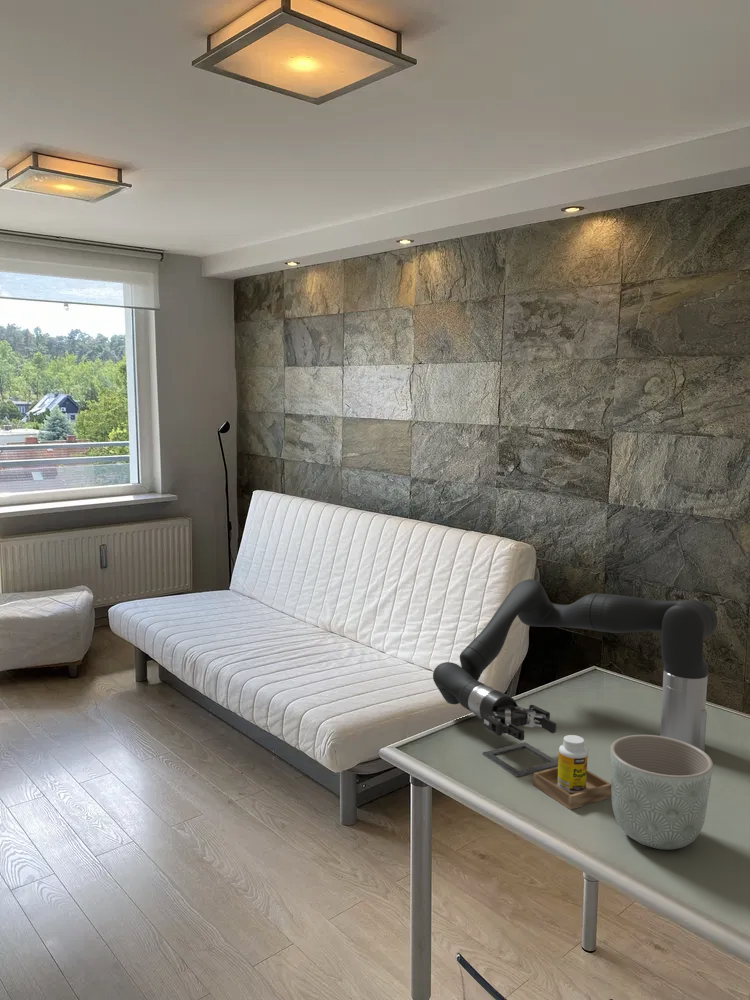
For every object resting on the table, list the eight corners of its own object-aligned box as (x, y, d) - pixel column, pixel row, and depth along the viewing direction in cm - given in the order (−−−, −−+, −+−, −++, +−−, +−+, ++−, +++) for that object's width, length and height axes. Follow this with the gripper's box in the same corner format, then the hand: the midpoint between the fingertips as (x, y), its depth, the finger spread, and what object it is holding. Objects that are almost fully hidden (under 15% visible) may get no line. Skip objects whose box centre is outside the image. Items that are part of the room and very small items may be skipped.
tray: (573, 774, 159) (573, 762, 159) (611, 797, 150) (612, 784, 150) (533, 785, 154) (533, 773, 154) (570, 809, 145) (570, 796, 145)
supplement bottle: (572, 797, 148) (574, 747, 147) (551, 785, 153) (553, 736, 152) (592, 790, 151) (594, 740, 150) (570, 778, 156) (572, 730, 155)
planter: (586, 829, 138) (590, 748, 137) (642, 802, 148) (647, 727, 147) (671, 875, 125) (676, 786, 123) (726, 842, 135) (732, 759, 133)
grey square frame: (525, 743, 174) (525, 742, 174) (561, 765, 163) (561, 763, 163) (482, 754, 168) (482, 752, 168) (517, 777, 158) (517, 775, 158)
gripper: (466, 695, 171) (513, 721, 156) (517, 685, 177) (565, 709, 163) (465, 727, 171) (511, 756, 157) (516, 716, 178) (564, 742, 164)
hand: (539, 732), depth 160 cm, fingers open, 8 cm apart
